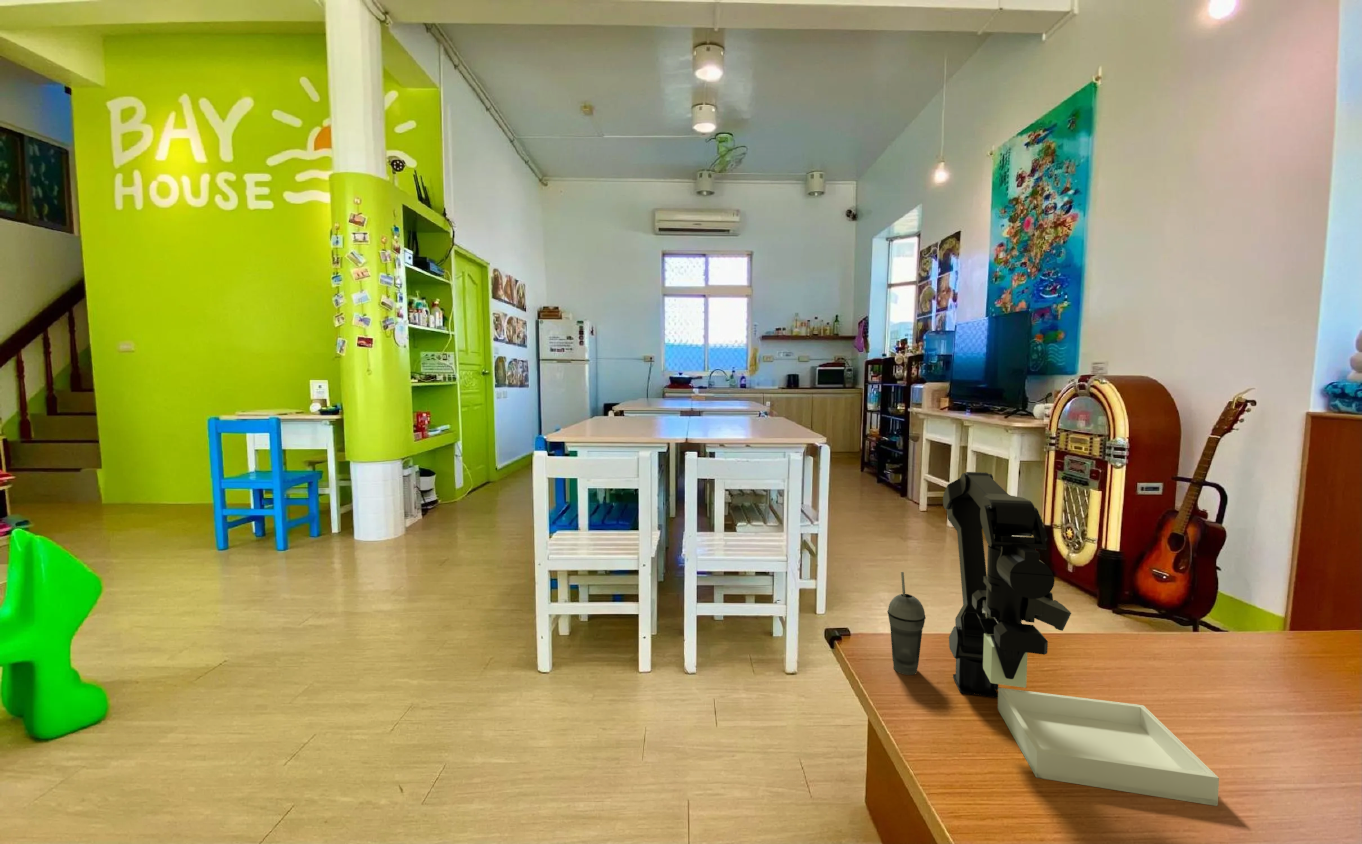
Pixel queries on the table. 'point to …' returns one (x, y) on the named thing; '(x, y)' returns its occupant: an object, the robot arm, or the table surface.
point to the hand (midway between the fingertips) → (1004, 670)
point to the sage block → (995, 669)
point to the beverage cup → (906, 631)
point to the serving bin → (1104, 746)
